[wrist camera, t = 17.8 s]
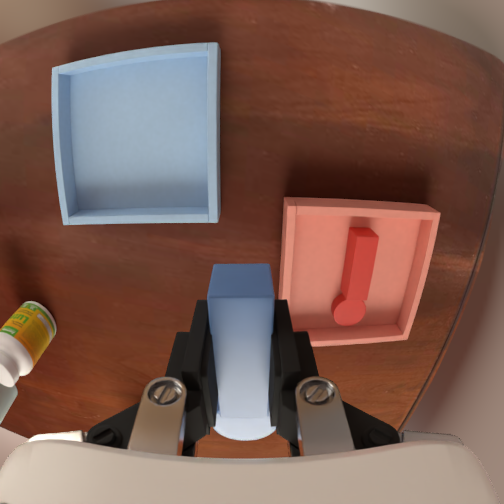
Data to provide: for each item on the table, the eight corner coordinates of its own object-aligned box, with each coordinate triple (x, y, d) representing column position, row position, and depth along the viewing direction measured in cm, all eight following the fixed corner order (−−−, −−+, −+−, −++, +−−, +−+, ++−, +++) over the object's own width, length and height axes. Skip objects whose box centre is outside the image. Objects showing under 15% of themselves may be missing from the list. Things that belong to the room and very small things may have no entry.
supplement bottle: (41, 295, 30) (-4, 349, 21) (65, 334, 32) (28, 392, 23) (15, 304, 30) (-28, 353, 21) (37, 339, 32) (1, 392, 23)
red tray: (426, 204, 26) (440, 212, 24) (398, 325, 32) (407, 339, 29) (283, 196, 26) (287, 205, 23) (275, 330, 31) (278, 347, 29)
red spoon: (376, 227, 26) (386, 236, 24) (359, 318, 30) (365, 331, 28) (342, 226, 26) (349, 236, 24) (328, 319, 30) (333, 333, 28)
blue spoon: (286, 262, 11) (295, 295, 9) (275, 422, 15) (278, 456, 13) (196, 263, 11) (186, 296, 9) (215, 422, 15) (212, 456, 13)
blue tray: (220, 49, 21) (217, 42, 18) (220, 212, 26) (218, 223, 24) (67, 70, 21) (51, 67, 18) (76, 215, 26) (63, 225, 24)
